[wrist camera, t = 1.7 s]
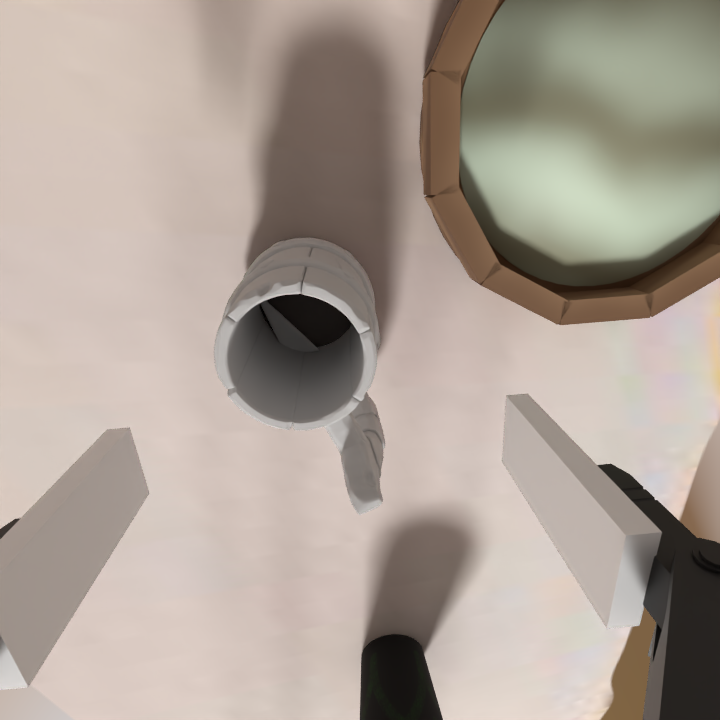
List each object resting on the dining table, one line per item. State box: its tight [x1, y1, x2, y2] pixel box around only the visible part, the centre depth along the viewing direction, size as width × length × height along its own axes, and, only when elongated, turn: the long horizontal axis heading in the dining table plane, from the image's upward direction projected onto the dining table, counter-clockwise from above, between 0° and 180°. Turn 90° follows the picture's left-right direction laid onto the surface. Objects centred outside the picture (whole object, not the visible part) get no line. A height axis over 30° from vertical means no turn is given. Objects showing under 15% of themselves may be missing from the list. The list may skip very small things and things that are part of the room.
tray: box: [420, 0, 720, 325], centre depth 22 cm, size 20×20×3 cm
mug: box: [214, 238, 385, 515], centre depth 21 cm, size 8×12×12 cm, turn 27°
